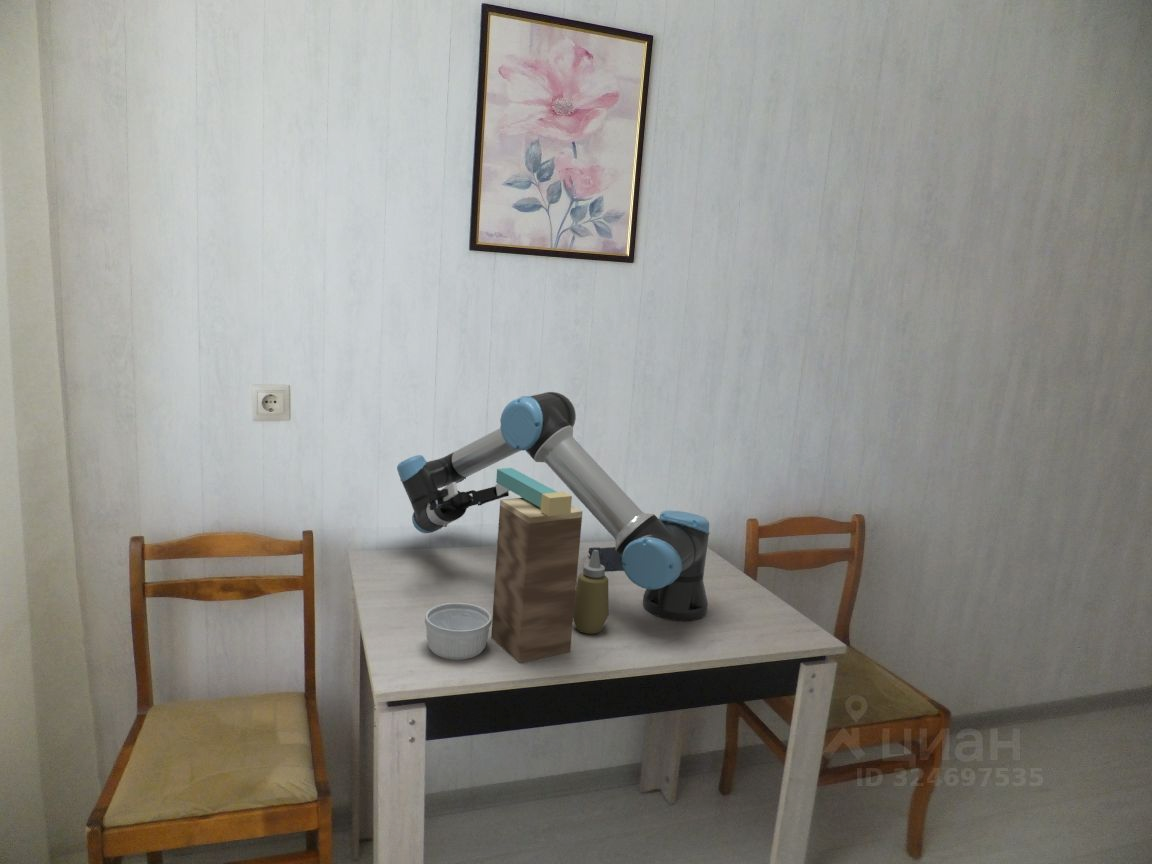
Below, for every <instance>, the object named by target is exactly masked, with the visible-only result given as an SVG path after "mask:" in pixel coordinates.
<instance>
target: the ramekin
mask: <svg viewBox="0 0 1152 864" xmlns="http://www.w3.org/2000/svg"><path fill="white" fill-rule="evenodd" d="M424 623H425V626H426V640H427V641H426V642H427V646H428V648H429V650H431V652H432V653H433V654H434V655H436V656H438V657H439V658H443V659H446V660H453V661H454V660H457V661H458V660H459V661H460V660H461V661H462V660H467V659H468V658H469V659H472V658H475V657H477V656H479V655H480V654H481V653H482V652H483V651H484V649H485V648H486V645H487V643H488V642H487V641H488V638H489V634H490V633H489V632H490V627H492V615H491V613H490V612H489V611H488V610H487V609H485V608H484V607H482V606H479V605H476V604H472V603H466V602H448V603H442V604H438V605H435V606H433V607H432V608H430V609H428V610H427V612H426V614H425V618H424ZM469 659H468V660H469Z"/></svg>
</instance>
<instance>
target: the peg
mask: <svg viewBox="0 0 1152 864" xmlns="http://www.w3.org/2000/svg"><path fill="white" fill-rule="evenodd" d="M495 479H496V480H495V483H496V484H500V485H501V486H503V487H505V488H507V489H508V490H510V491H509V492H512V493H514V494H515V495H517V496H519V497H520V498H524V499H526V500H528V501H529V502H531V503H533V504H535V505H536V506H538V507H540V508H541V511H540V512H542V513H544V514H545V515H547V516H555V515H564V514H570V513H571V506H572V502H573V501H572V500H573V496H572V495H571V494H569V493H567V492H566V491H559V492H558V491H557V490H555V489H553V488H551V487H549V486H547V485H545V484H543V483H542V482H540V481H537V480H535V479H534V478H532V477H530V476H528V475H526V474H524V473H523V472H520V471H519V470H516V469H515V468H513V467H506V468H505V467H504V468H496V478H495Z"/></svg>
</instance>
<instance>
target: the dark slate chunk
mask: <svg viewBox="0 0 1152 864" xmlns="http://www.w3.org/2000/svg"><path fill="white" fill-rule="evenodd" d="M593 550H598V551H599V558H600V564H601V565H603V566H604V567H605V572H624V569H623V562H622V556H621V555H620V554H619V553H618V552H617V551H616V549H615V546H614V547H613V546H612V547H609V546H608V547H589V548H588V551H587V553H589V555H590V557H591V556H592V552H593Z"/></svg>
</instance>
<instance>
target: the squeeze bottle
mask: <svg viewBox="0 0 1152 864" xmlns="http://www.w3.org/2000/svg"><path fill="white" fill-rule="evenodd" d="M589 559H590V560H589V562H588V563H585V564H584V565H583V568H582V570H583V571H582V573H581V574H579V575H578V576H577V580H576V592H575V603H574V614H573V623H574V627H575V630H577V631H578V632H581V633H583V634H587V635H589V634H590V635H591V634H593V635H594V634H598V633H600V632H602V631H603V628H604V626H605V624H606V621H607V619H608V617H609V611H610V609H609V608H610V607H609V606H610V605H609V579H608V577H607V576H606V575H605V573H606V571H605V567H604V566H603V565H601V564H600V558H599V551H598V550H593V552H592V556H591V555H590V558H589Z"/></svg>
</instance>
